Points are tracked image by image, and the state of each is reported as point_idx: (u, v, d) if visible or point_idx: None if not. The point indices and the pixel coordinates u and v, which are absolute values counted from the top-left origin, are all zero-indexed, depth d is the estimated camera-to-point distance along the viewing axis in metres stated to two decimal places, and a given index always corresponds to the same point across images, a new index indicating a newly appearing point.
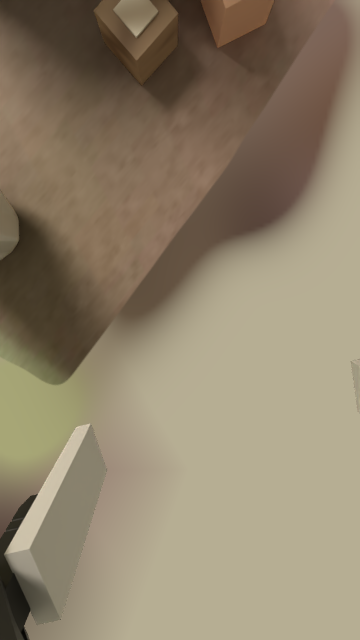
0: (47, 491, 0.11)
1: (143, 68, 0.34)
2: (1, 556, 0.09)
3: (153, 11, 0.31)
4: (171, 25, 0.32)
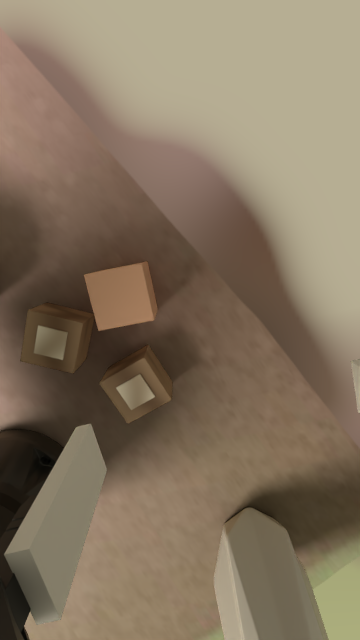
0: (47, 491, 0.11)
1: (169, 386, 0.37)
2: (1, 556, 0.09)
3: (139, 378, 0.34)
4: (149, 362, 0.35)
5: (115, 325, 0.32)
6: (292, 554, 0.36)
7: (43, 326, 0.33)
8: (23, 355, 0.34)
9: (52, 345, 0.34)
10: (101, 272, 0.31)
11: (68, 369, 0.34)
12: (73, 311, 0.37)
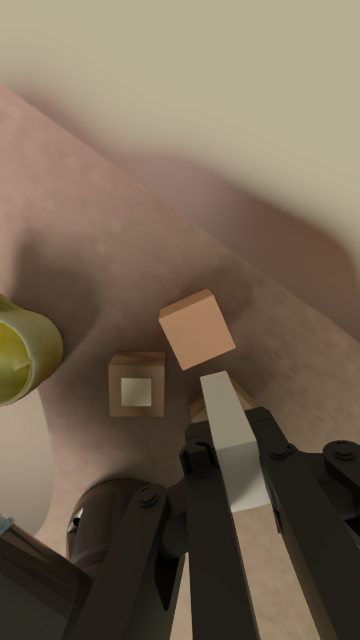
0: (215, 415, 0.13)
1: (256, 407, 0.37)
2: None
3: None
4: (235, 389, 0.34)
5: (198, 361, 0.32)
6: None
7: (126, 378, 0.33)
8: (111, 410, 0.34)
9: (138, 394, 0.33)
10: (175, 313, 0.31)
11: (158, 414, 0.34)
12: (145, 354, 0.36)
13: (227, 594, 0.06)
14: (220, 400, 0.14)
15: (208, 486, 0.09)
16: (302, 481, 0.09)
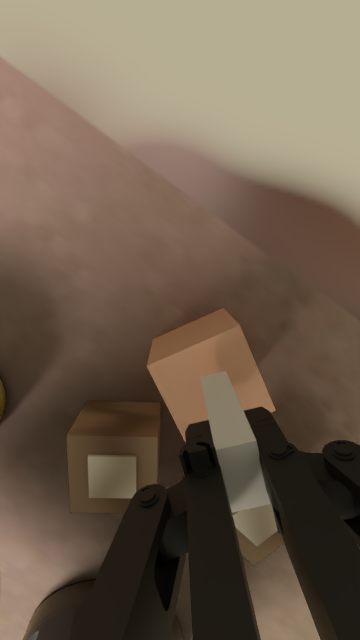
0: (215, 415, 0.13)
1: None
2: None
3: None
4: None
5: None
6: None
7: (95, 455, 0.21)
8: (73, 503, 0.21)
9: (116, 480, 0.21)
10: (175, 355, 0.18)
11: None
12: (130, 408, 0.24)
13: (228, 594, 0.06)
14: (220, 400, 0.14)
15: (208, 486, 0.09)
16: (302, 481, 0.09)
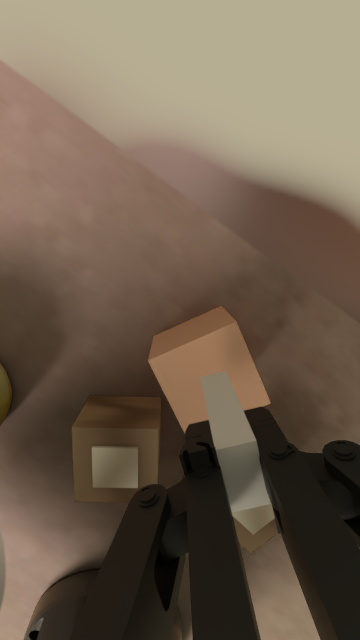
0: (215, 415, 0.13)
1: None
2: None
3: None
4: None
5: None
6: None
7: (99, 446, 0.21)
8: (77, 492, 0.22)
9: (118, 470, 0.22)
10: (175, 350, 0.19)
11: None
12: (132, 402, 0.25)
13: (228, 594, 0.06)
14: (220, 400, 0.14)
15: (208, 486, 0.09)
16: (302, 481, 0.09)
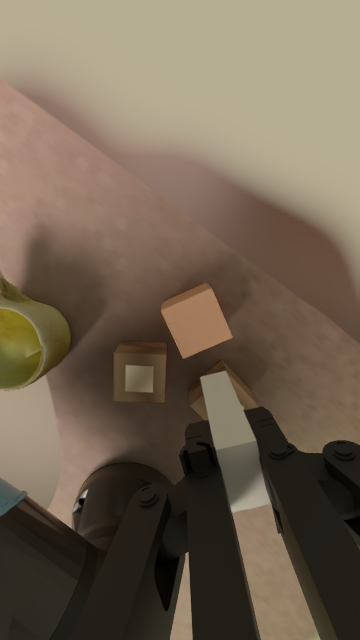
0: (215, 415, 0.13)
1: (252, 395, 0.39)
2: None
3: None
4: (232, 377, 0.37)
5: (198, 350, 0.34)
6: None
7: (130, 365, 0.35)
8: (115, 395, 0.36)
9: (141, 381, 0.36)
10: (176, 305, 0.33)
11: (159, 400, 0.36)
12: (148, 344, 0.39)
13: (228, 595, 0.06)
14: (220, 400, 0.14)
15: (208, 486, 0.09)
16: (302, 481, 0.09)
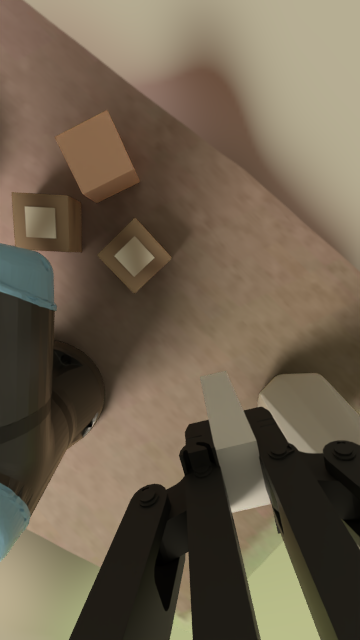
0: (215, 415, 0.13)
1: None
2: None
3: (135, 240, 0.34)
4: None
5: (97, 184, 0.32)
6: (328, 385, 0.35)
7: (30, 207, 0.33)
8: (17, 242, 0.34)
9: (42, 224, 0.34)
10: (70, 130, 0.31)
11: (63, 248, 0.34)
12: None
13: (228, 594, 0.06)
14: (220, 400, 0.14)
15: (208, 486, 0.09)
16: (302, 481, 0.09)
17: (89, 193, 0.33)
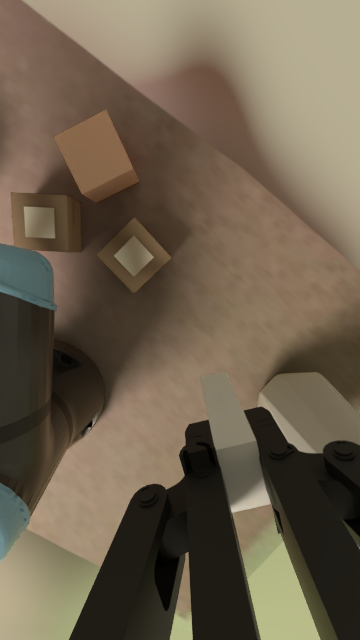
0: (215, 415, 0.13)
1: None
2: None
3: (134, 240, 0.34)
4: None
5: (97, 184, 0.32)
6: (328, 384, 0.35)
7: (29, 207, 0.33)
8: (16, 242, 0.34)
9: (41, 224, 0.34)
10: (69, 129, 0.31)
11: (62, 248, 0.34)
12: None
13: (228, 594, 0.06)
14: (220, 400, 0.14)
15: (208, 486, 0.09)
16: (302, 481, 0.09)
17: (88, 193, 0.33)
